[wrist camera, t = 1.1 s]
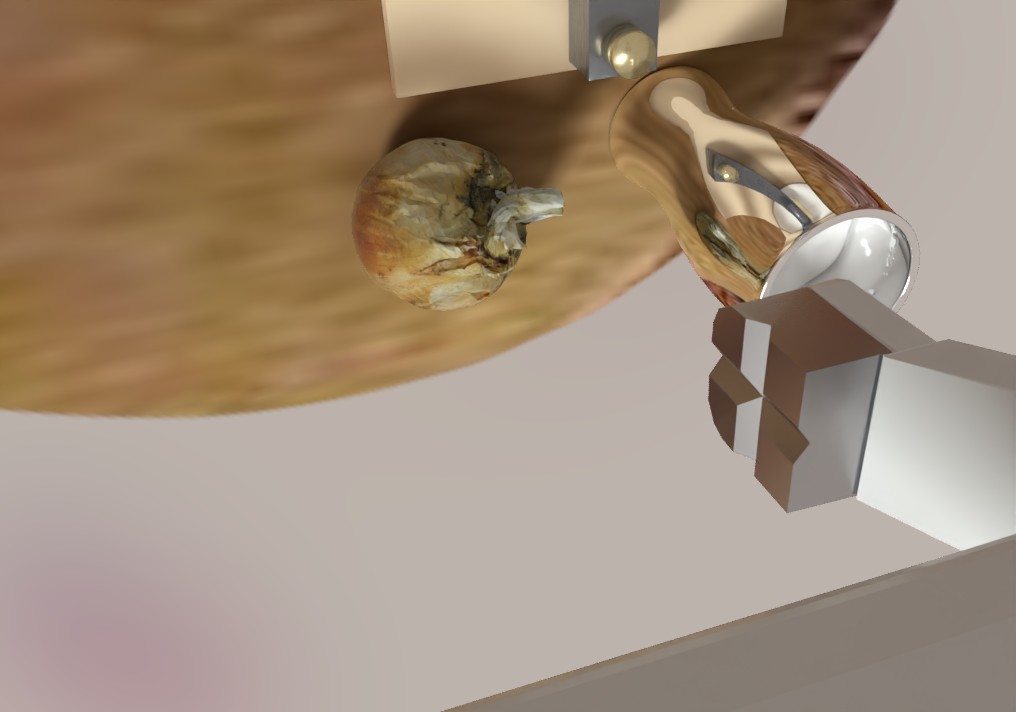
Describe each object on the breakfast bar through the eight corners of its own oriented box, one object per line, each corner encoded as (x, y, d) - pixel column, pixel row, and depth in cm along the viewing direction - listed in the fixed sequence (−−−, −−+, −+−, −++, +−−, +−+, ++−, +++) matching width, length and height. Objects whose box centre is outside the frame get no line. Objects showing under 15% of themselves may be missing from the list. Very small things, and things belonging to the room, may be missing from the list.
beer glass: (702, 199, 49) (871, 372, 38) (581, 184, 46) (723, 365, 35) (754, 68, 46) (959, 214, 34) (627, 43, 43) (802, 193, 31)
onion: (364, 91, 41) (403, 172, 35) (531, 132, 44) (593, 212, 38) (321, 245, 44) (349, 343, 38) (478, 272, 48) (527, 366, 42)
